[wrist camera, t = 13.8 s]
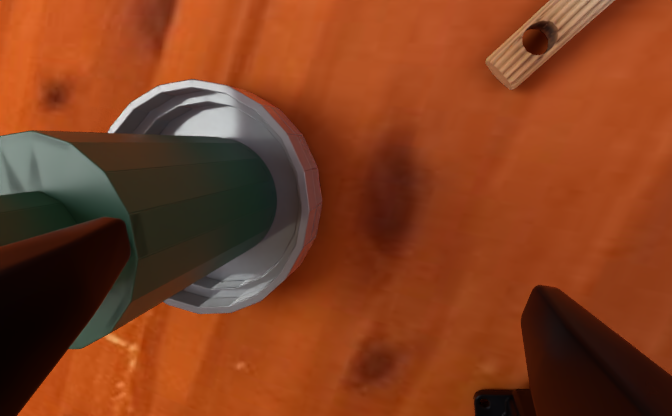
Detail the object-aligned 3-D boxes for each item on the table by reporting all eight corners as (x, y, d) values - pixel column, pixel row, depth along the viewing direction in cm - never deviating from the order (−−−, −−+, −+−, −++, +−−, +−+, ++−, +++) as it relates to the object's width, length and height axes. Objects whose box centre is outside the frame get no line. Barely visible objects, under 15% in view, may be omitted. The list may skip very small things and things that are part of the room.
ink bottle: (285, 250, 22) (64, 417, 9) (180, 257, 24) (-146, 409, 10) (267, 130, 21) (-8, 106, 8) (160, 146, 23) (-226, 149, 9)
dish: (336, 289, 22) (322, 310, 19) (154, 296, 25) (119, 316, 22) (308, 72, 21) (290, 60, 18) (118, 105, 24) (75, 100, 21)
